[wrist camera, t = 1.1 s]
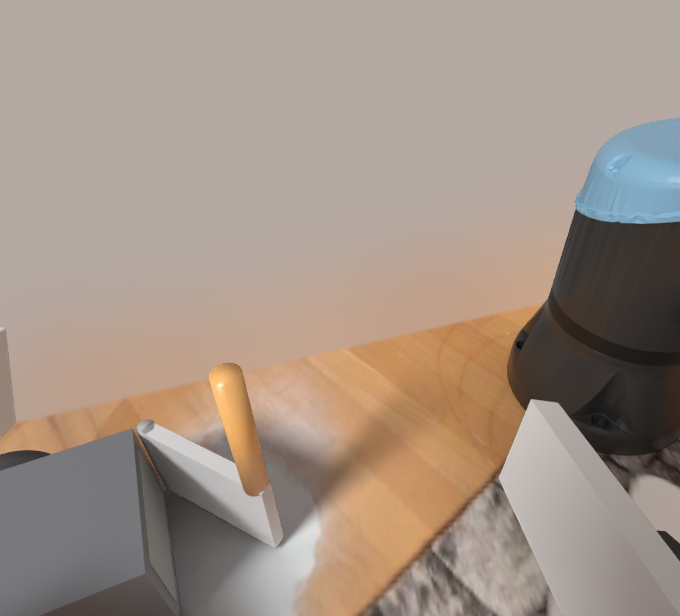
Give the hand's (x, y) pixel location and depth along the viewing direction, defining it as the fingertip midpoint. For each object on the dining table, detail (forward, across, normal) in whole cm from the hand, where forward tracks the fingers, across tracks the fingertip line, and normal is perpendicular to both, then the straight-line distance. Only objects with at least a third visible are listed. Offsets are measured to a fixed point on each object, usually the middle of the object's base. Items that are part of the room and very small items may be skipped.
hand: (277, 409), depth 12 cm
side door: (+17, -3, -22) cm, 28 cm away
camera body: (+13, -12, -26) cm, 31 cm away
